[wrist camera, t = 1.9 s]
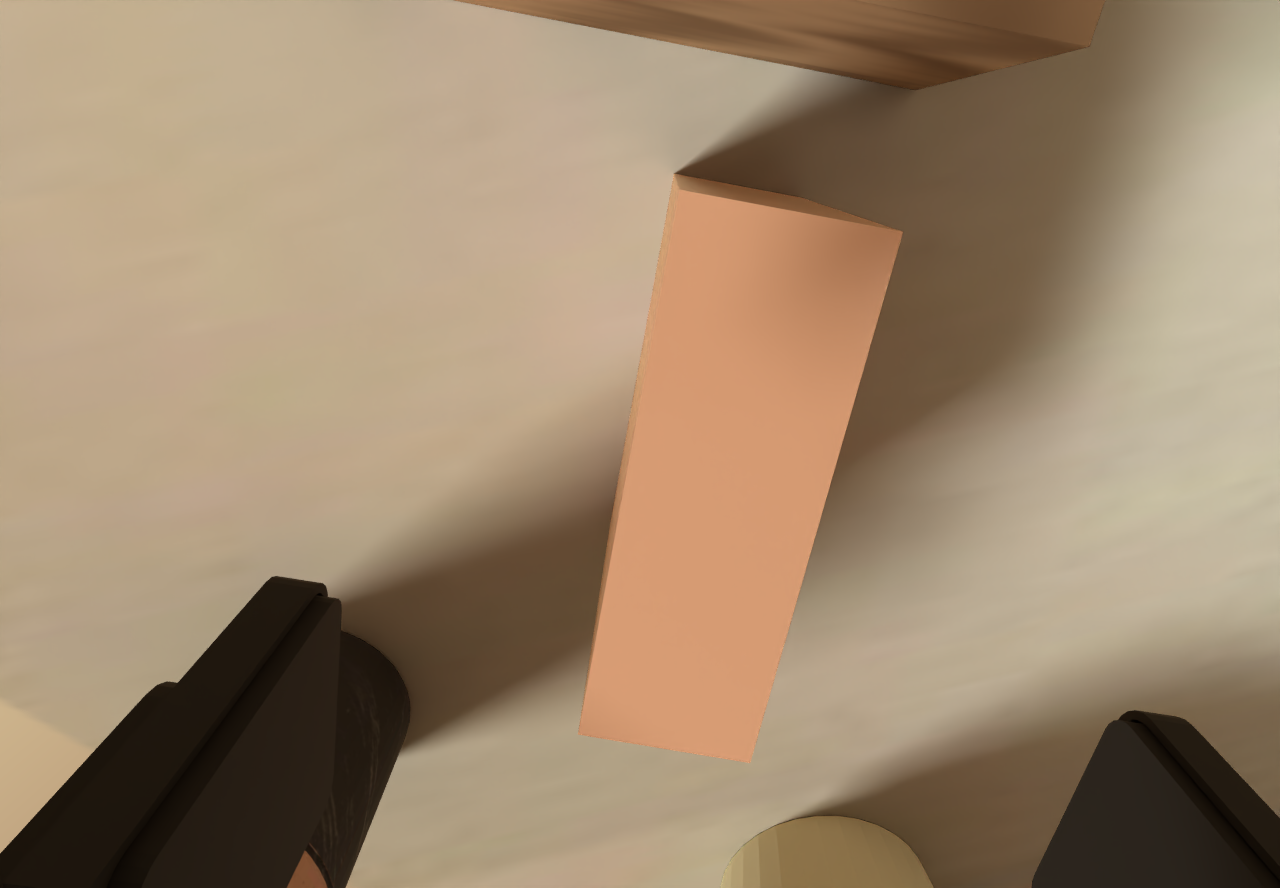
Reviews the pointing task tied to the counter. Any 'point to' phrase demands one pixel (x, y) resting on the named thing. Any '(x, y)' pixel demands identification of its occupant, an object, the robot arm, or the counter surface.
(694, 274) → the peach rectangular block
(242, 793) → the robot arm
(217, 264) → the counter surface
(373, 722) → the travel mug
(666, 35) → the wooden crate
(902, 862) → the reusable coffee cup
